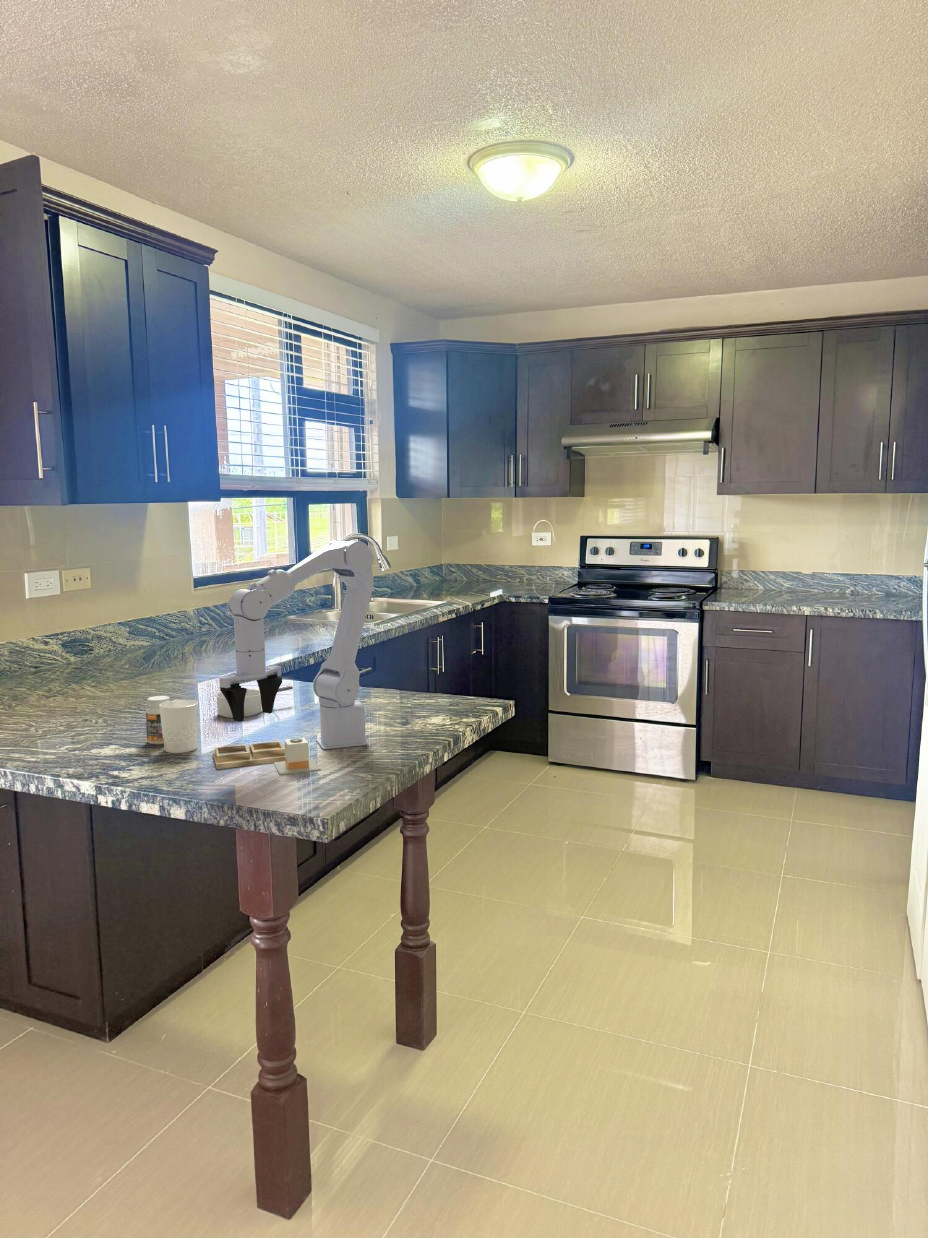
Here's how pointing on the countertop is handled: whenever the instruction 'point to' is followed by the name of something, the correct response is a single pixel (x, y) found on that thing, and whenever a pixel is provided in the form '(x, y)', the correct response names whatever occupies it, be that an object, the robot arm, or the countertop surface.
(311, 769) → the mat
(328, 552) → the robot arm
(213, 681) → the countertop surface
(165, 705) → the white cup
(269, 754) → the socket block
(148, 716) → the pill bottle
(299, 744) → the cube with grey knob
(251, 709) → the saucepan
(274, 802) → the countertop surface
